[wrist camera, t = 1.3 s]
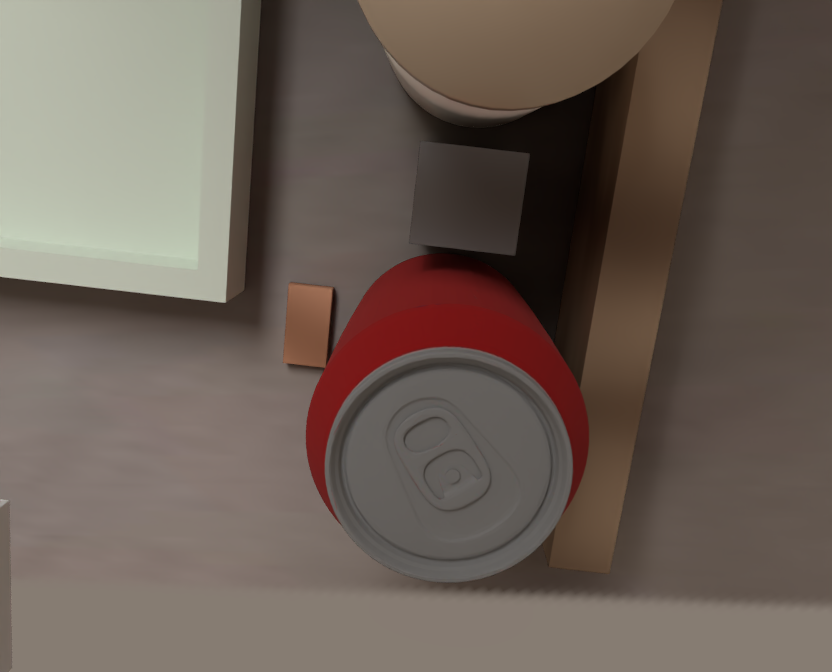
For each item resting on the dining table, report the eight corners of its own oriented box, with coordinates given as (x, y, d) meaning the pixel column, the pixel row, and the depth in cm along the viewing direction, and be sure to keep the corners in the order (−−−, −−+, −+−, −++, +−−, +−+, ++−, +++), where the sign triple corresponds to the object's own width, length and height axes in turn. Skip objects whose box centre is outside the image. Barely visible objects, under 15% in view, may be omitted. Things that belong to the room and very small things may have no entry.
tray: (-127, -144, 24) (-191, -179, 21) (266, -98, 24) (248, -127, 21) (-105, 249, 27) (-159, 258, 24) (244, 290, 27) (225, 302, 24)
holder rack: (325, -195, 23) (289, -317, 17) (698, -151, 23) (787, -256, 17) (277, 469, 28) (236, 548, 23) (579, 504, 29) (616, 591, 23)
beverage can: (411, 454, 28) (396, 660, 17) (317, 308, 27) (229, 420, 15) (564, 369, 27) (662, 523, 16) (474, 214, 26) (508, 256, 14)
